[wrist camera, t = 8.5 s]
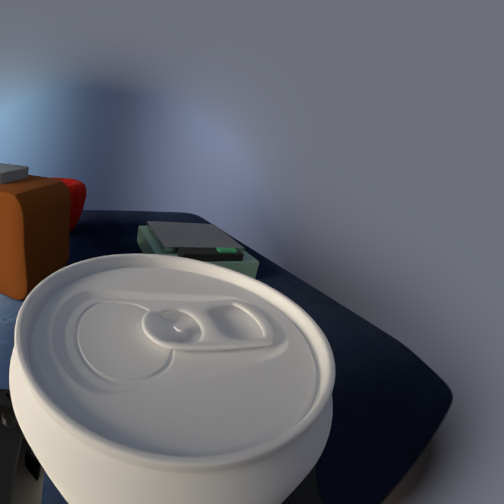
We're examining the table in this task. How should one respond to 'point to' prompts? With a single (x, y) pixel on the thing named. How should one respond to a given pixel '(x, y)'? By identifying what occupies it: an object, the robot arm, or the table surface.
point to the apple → (75, 199)
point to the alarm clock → (31, 229)
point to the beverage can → (169, 383)
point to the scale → (202, 254)
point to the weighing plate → (190, 236)
